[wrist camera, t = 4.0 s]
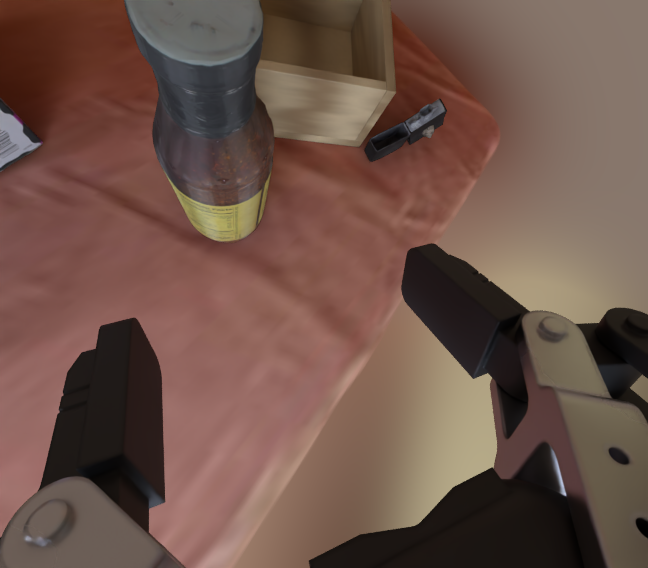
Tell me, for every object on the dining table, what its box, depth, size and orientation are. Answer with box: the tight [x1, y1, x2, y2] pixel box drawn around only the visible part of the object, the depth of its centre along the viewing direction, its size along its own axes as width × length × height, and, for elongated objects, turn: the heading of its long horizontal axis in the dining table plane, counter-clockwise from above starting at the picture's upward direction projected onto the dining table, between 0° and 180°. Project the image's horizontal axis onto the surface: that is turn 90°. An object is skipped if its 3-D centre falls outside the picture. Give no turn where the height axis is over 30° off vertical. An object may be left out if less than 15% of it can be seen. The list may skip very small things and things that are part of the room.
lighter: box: [364, 99, 447, 162], centre depth 33 cm, size 8×2×5 cm
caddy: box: [255, 0, 396, 147], centre depth 29 cm, size 12×13×8 cm
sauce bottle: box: [124, 0, 274, 243], centre depth 20 cm, size 7×6×20 cm
